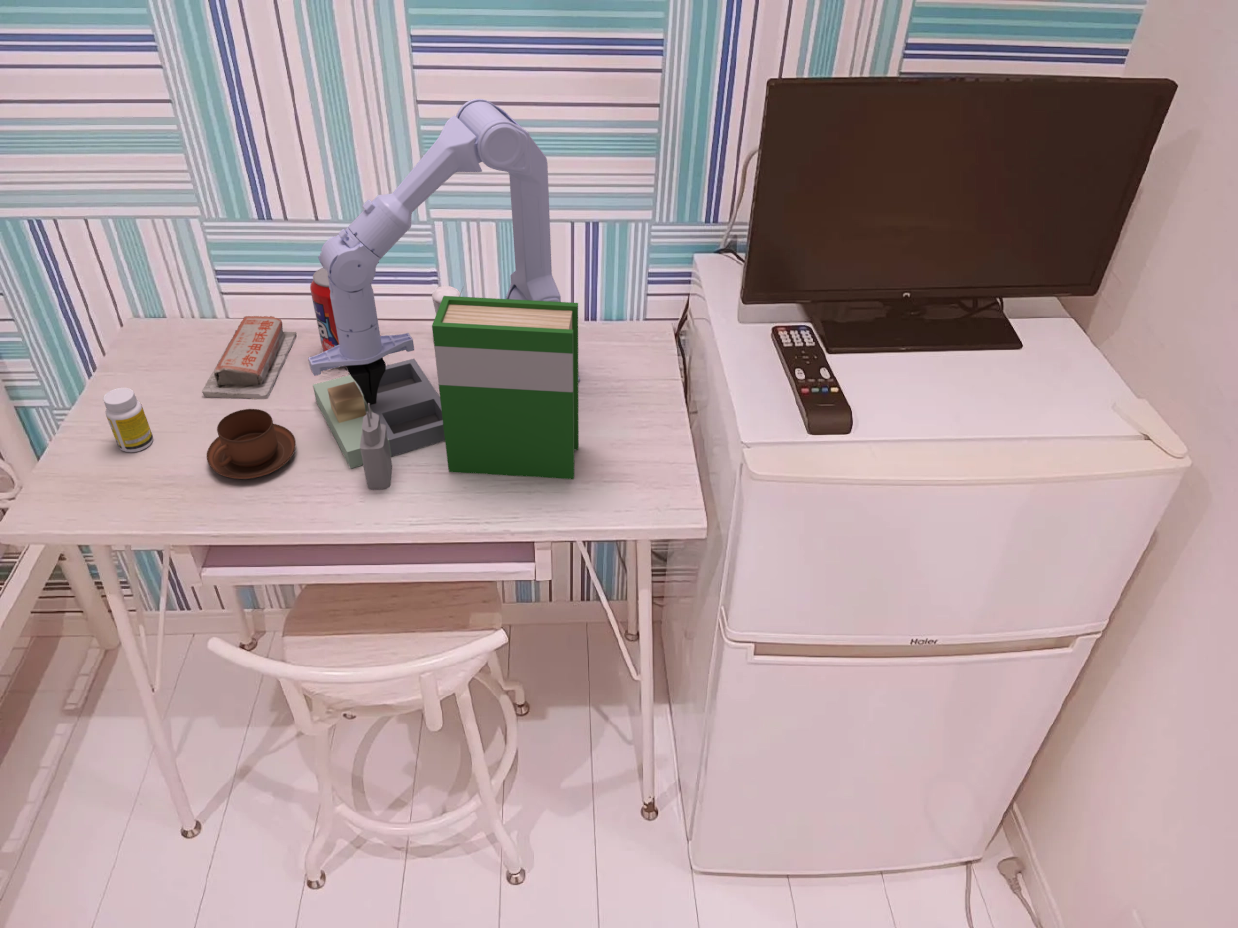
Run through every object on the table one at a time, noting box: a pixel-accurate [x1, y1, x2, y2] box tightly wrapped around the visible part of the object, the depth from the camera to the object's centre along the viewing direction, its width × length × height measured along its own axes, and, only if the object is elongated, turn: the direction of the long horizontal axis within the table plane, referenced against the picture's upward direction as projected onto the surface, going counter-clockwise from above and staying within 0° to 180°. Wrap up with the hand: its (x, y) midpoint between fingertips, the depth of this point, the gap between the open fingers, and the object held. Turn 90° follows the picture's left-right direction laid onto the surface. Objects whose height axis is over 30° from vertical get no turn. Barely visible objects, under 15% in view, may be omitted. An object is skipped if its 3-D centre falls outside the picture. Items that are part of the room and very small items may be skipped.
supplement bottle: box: [102, 387, 154, 453], centre depth 139 cm, size 5×5×8 cm
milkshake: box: [431, 285, 464, 315], centre depth 162 cm, size 5×5×10 cm
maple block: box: [328, 381, 366, 423], centre depth 143 cm, size 4×4×4 cm
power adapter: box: [360, 403, 393, 491], centre depth 134 cm, size 3×5×12 cm, turn 6°
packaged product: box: [201, 315, 298, 400], centre depth 156 cm, size 18×5×10 cm
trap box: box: [312, 358, 445, 469], centre depth 147 cm, size 16×18×3 cm
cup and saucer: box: [206, 408, 297, 480], centre depth 138 cm, size 12×12×6 cm
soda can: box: [310, 267, 339, 353], centre depth 155 cm, size 8×8×15 cm
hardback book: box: [431, 296, 580, 480], centre depth 133 cm, size 18×7×24 cm, turn 87°
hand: (370, 401), depth 144 cm, fingers closed
